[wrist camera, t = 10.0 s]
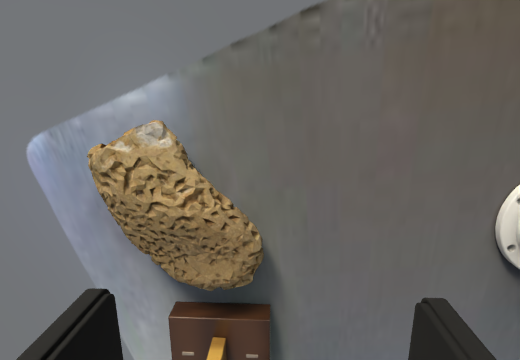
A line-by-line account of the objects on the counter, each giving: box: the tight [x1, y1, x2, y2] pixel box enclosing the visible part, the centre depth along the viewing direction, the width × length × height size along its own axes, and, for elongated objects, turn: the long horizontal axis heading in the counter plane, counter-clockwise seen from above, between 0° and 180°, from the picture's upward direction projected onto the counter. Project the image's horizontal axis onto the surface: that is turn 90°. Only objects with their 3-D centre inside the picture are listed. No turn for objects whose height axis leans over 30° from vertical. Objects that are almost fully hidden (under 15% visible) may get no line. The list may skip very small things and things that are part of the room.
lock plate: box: [168, 302, 270, 360], centre depth 40 cm, size 12×10×3 cm
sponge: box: [87, 120, 264, 291], centre depth 34 cm, size 13×8×20 cm
